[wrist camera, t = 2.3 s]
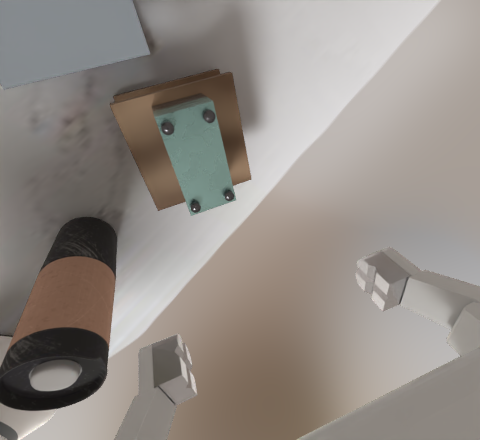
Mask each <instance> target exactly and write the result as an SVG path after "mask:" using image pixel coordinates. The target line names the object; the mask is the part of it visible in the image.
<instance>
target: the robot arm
mask: <svg viewBox="0 0 480 440" xmlns="http://www.w3.org/2000/svg"><path fill="white" fill-rule="evenodd" d="M357 266H358V267H359V268H358V270H357V271H356V280H357V283H358V284H359V286H360V287H361V288H362V290H363V291H364V292H367V293H369V294H371V299H372V300H373V302H374V303H375V304H376V305H377V306H378V307H379V308H380V309H381V310H382V311H385V310H387V309H389V308H392V307H394V306H397V305H399V304H400V306H402V307H404V308H406V309H409V310H411V311H413V312H415V313H417V314H419V315H421V316H423V317H425V318H427V319H429V320H431V321H433V322H435V323H438V324H439V325H442V326H444V327H446V328H448V329H450V330H451V332H450V333H449V335H448V337H447V343H448V344H449V345H450V346H451V347H452V348H453V349H454V350H455V351H456V352H457V353H458V354H459V355H460V357H458V358H456V359H454V360H452V361H450V362H448V363H446V364H444V365H442V366H440V367H438V368H436V369H434V370H432V371H430V372H429V373H426V374H425V375H423V376H421V377H419V378H417V379H415V380H413V381H411V382H409V383H407V384H405V385H403V386H401V387H399V388H397V389H395V390H393V391H391V392H389V393H387V394H385V395H383V396H381V397H379V398H377V399H375V400H373V401H371V402H370V403H367V404H365V405H364V406H362V407H360V408H358V409H356V410H354V411H352V412H350V413H348V414H346V415H344V416H342V417H340V418H338V419H336V420H334V421H332V422H330V423H328V424H326V425H324V426H322V427H320V428H318V429H316V430H315V431H312V432H311V433H308V434H307V435H305V436H303V437H301V438H299V439H297V440H480V286H476V285H473V284H470V283H467V282H463V281H460V280H457V279H454V278H450V277H447V276H443V275H440V274H437V273H434V272H430V271H427V270H424V271H421V270H420V269H419V268H418V267H416V266H415V265H414V264H412V263H411V262H410V261H409V260H407V259H406V258H405V257H403V256H402V255H401V254H399V253H398V252H397V251H396V250H394V249H393V248H391V247H387V248H384V249H382V250H380V251H376V252H374V253H372V254H369V255H367V256H365V257H363V258H360V259H359V260H358V261H357ZM12 338H13V337H8V336H0V367H1V364H2V362H3V360H4V357H5V355H6V352H7V350H8V347H9V345H10V343H11V340H12ZM138 358H139V395H137V396H135V397H134V399H133V401H132V404H131V405H130V408H129V410H128V412H127V414H126V416H125V418H124V420H123V422H122V424H121V426H120V428H119V430H118V433H117V435H116V437H115V439H114V440H167V438H168V434H169V431H170V428H171V424H172V421H173V418H174V414H175V411H176V405H178V404H180V403H182V402H184V401H186V400H188V399H191V398H192V397H195V396H197V390H196V384H195V379H194V376H193V375H192V373H191V372H190V371H191V368H192V362H191V357H190V354H189V350H188V348H187V346H186V345H185V343H182V339H181V336H180V335H179V334H176V335H173V336H171V337H168V338H166V339H163V340H161V341H158V342H156V343H153V344H151V345H148V346H146V347H143V348H141V349H140V350H139V355H138ZM56 410H57V409H53V410H45V411H24V410H17V409H13V408H9V407H7V406H5V405H3V404H1V403H0V440H21V439H22V438H24V437H25V436H27V435H28V434H30V433H31V432H33V431H34V430H36V429H37V428H39V427H40V426H42V425H43V424H45V423H46V422H47V421H49V419H50V418H52V416H53V415H54V413H55V412H56Z"/></svg>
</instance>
